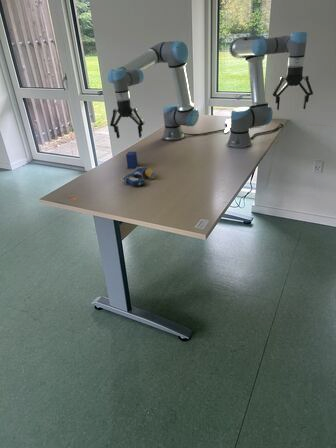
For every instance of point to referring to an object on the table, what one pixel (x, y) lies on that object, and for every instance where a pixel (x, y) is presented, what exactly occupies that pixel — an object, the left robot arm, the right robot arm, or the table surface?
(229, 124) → the spoon
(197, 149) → the table surface
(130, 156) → the block
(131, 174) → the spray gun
